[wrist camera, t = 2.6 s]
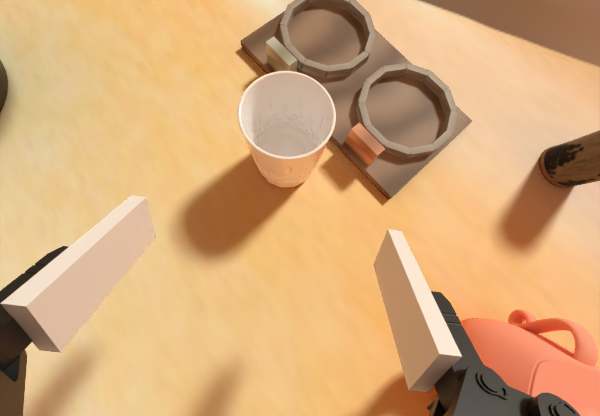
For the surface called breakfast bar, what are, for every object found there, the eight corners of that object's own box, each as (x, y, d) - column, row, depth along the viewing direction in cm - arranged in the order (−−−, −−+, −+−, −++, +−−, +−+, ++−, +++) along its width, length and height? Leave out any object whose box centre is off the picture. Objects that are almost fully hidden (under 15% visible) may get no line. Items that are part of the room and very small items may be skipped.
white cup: (253, 194, 29) (237, 160, 19) (252, 131, 30) (237, 70, 20) (321, 191, 29) (340, 158, 20) (316, 130, 31) (331, 70, 21)
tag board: (241, 47, 32) (236, 18, 29) (325, -9, 35) (330, -43, 31) (388, 199, 30) (404, 190, 26) (466, 125, 32) (491, 106, 28)
